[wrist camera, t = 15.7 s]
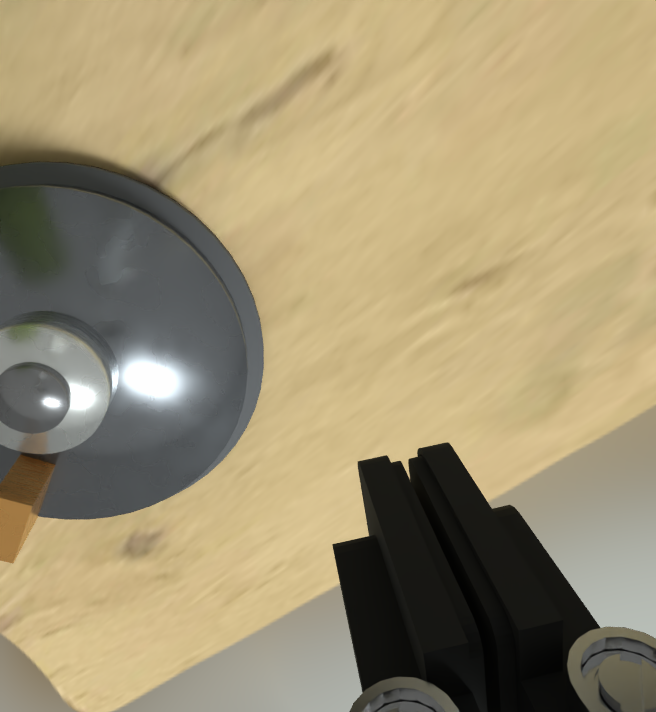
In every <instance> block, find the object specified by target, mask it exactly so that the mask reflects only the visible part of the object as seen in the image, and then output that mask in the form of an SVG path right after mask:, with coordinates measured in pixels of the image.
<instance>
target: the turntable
mask: <svg viewBox="0 0 656 712" xmlns="http://www.w3.org/2000/svg"><path fill="white" fill-rule="evenodd" d="M33 311H54V312H60V313H64V314H67V315H71V316H73V317H75V318H78V319H80V320H82V321H84V322H85V323H87V324H88V325H90V326H91V327H93V328H94V329H95V330H96V331H97V332H99V333H100V334H101V335H102V337H103V338H104V339H105V340H106V341H107V343H108V344H109V346H110V347H111V349H112V351H113V353H114V355H115V358H116V361H117V365H118V374H119V378H118V385H117V389H116V392H115V394H114V397H113V399H112V401H111V403H110V405H109V407H108V409H107V411H106V413H105V415H104V417H103V420H102V422H101V423H100V425H99V427H98V428H97V430H96V431H95V432H94V433H93V434H92V435H91V436H90V437H89V438H88V439H87V440H85V441H84V442H82V443H81V444H79V445H77V446H75V447H73V448H71V449H68V450H65V451H62V452H57V453H51V454H32V453H25V452H20V451H16V450H13V449H10V448H7V447H5V446H3V445H1V444H0V560H1V561H5V562H10V563H14V561H15V559H16V557H17V555H18V553H19V551H20V549H21V548H22V546H23V544H24V542H25V540H26V538H27V536H28V534H29V532H30V530H31V529H32V527H33V525H34V523H35V521H36V519H37V517H38V516H40V517H48V518H58V519H96V518H105V517H112V516H117V515H122V514H126V513H131V512H134V511H137V510H140V509H143V508H146V507H149V506H152V505H154V504H156V503H158V502H160V501H163V500H165V499H167V498H169V497H171V496H172V495H174V494H176V493H177V492H179V491H180V490H182V489H184V488H185V487H187V486H188V485H189V484H191V483H192V482H193V481H194V480H196V479H197V478H198V477H199V476H201V475H202V474H203V473H204V472H205V471H206V470H207V469H208V467H209V466H210V465H211V464H212V463H213V462H214V461H215V460H216V459H217V457H218V456H219V455H220V453H221V452H222V450H223V449H224V448H225V446H226V445H227V443H228V441H229V439H230V438H231V436H232V434H233V432H234V430H235V428H236V426H237V423H238V420H239V417H240V415H241V412H242V409H243V404H244V399H245V394H246V388H247V371H248V364H247V349H246V339H245V334H244V330H243V326H242V321H241V318H240V315H239V313H238V310H237V308H236V305H235V302H234V300H233V298H232V296H231V294H230V292H229V290H228V288H227V287H226V285H225V283H224V281H223V279H222V278H221V276H220V275H219V274H218V272H217V271H216V270H215V268H214V267H213V265H212V264H211V263H210V261H209V260H208V259H207V258H206V257H205V256H204V255H203V254H202V252H201V251H200V250H199V249H198V248H197V247H196V246H195V245H194V244H193V243H192V242H191V241H190V240H189V239H187V238H186V237H185V236H184V235H183V234H181V233H180V232H179V231H178V230H177V229H175V228H174V227H173V226H171V225H170V224H168V223H167V222H165V221H164V220H162V219H161V218H159V217H158V216H156V215H155V214H153V213H151V212H149V211H147V210H145V209H143V208H141V207H139V206H137V205H135V204H133V203H131V202H129V201H127V200H124V199H121V198H118V197H115V196H113V195H110V194H107V193H104V192H100V191H96V190H91V189H87V188H82V187H77V186H69V185H58V184H28V185H18V186H12V187H6V188H0V326H1V325H2V324H3V323H5V322H6V321H8V320H9V319H11V318H13V317H15V316H18V315H21V314H24V313H28V312H33Z"/></svg>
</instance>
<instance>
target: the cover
mask: <svg viewBox="0 0 656 712" xmlns="http://www.w3.org/2000/svg"><path fill="white" fill-rule="evenodd" d="M118 378H119V374H118V365H117V361H116V358H115V355H114V353H113V351H112V349H111V347H110V346H109V344H108V343H107V341H106V340H105V339H104V338H103V337H102V335H101V334H100V333H99V332H97V331H96V330H95V329H94V328H93V327H91V326H90V325H88V324H87V323H85V322H84V321H82V320H80V319H78V318H75V317H73V316H71V315H67V314H64V313H60V312H54V311H33V312H28V313H24V314H21V315H18V316H15V317H13V318H11V319H9V320H8V321H6V322H5V323H3V324H2V325H1V326H0V444H1V445H3V446H5V447H7V448H10V449H13V450H16V451H20V452H25V453H32V454H51V453H57V452H62V451H65V450H68V449H71V448H73V447H75V446H77V445H79V444H81V443H82V442H84V441H85V440H87V439H88V438H89V437H90V436H91V435H92V434H93V433H94V432H95V431H96V430H97V428H98V427H99V425H100V423H101V422H102V420H103V417H104V415H105V413H106V411H107V409H108V407H109V405H110V403H111V401H112V399H113V397H114V394H115V392H116V389H117V385H118Z"/></svg>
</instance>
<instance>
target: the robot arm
mask: <svg viewBox="0 0 656 712" xmlns="http://www.w3.org/2000/svg"><path fill="white" fill-rule="evenodd" d="M417 454H418V457H415V458H411V459H409V472H410V479H409V477H408V475H407V473H406V471H405V469H404V466H403V464H402V462H401V461H397V462H392V463H391V462H390V460H389V458H388V456H387V455H386V456H381V457H377V458H372V459H367V460H363V461H358V470H359V477H360V483H361V489H362V495H363V501H364V507H365V513H366V519H367V525H368V532H369V536H368V537H364V538H359V539H355V540H350V541H346V542H341V543H337V544H333V550H334V555H335V560H336V565H337V570H338V575H339V580H340V585H341V590H342V595H343V600H344V605H345V609H346V615H347V619H348V624H349V629H350V634H351V639H352V643H353V648H354V653H355V658H356V663H357V667H358V673H359V678H360V682H361V687H362V692H363V693H362V694H361V695H360V697H359V698H358V699H357V700H356V701H355V702H354V703H353V706H352V708H351V710H350V712H656V638H654V637H652V636H650V635H648V634H646V633H644V632H640V631H636V630H633V629H629V628H625V627H603V628H600V626H599V625H598V624H597V622H596V621H595V619H594V618H593V617H592V615H591V614H590V612H589V611H588V610H587V608H586V607H585V605H584V604H583V602H582V601H581V600H580V598H579V597H578V595H577V594H576V592H575V591H574V590H573V588H572V587H571V585H570V584H569V583H568V581H567V580H566V578H565V577H564V575H563V574H562V573H561V571H560V570H559V568H558V567H557V566H556V564H555V563H554V561H553V560H552V558H551V557H550V556H549V554H548V553H547V551H546V550H545V549H544V547H543V546H542V544H541V543H540V541H539V540H538V539H537V537H536V536H535V534H534V533H533V532H532V530H531V529H530V527H529V526H528V525H527V523H526V522H525V520H524V519H523V518H522V516H521V515H520V513H519V512H518V511H517V510H516V509H515V507H513V506H511V505H507V506H503V507H498V508H494V509H492V508H491V507H490V505H489V504H488V502H487V501H486V499H485V498H484V496H483V494H482V493H481V491H480V490H479V488H478V487H477V485H476V483H475V482H474V480H473V479H472V477H471V476H470V474H469V473H468V471H467V469H466V468H465V466H464V465H463V463H462V462H461V460H460V459H459V457H458V455H457V454H456V452H455V451H454V449H453V448H452V446H451V445H450V444H449V443H442V444H438V445H433V446H428V447H423V448H419V449H418V453H417ZM410 481H411V482H410Z"/></svg>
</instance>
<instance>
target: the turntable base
mask: <svg viewBox="0 0 656 712" xmlns="http://www.w3.org/2000/svg"><path fill="white" fill-rule="evenodd" d="M28 184H58V185H69V186H77V187H82V188H87V189H91V190H96V191H100V192H104V193H107V194H110V195H113V196H115V197H118V198H121V199H124V200H127V201H129V202H131V203H133V204H135V205H137V206H139V207H141V208H143V209H145V210H147V211H149V212H151V213H153V214H155V215H156V216H158V217H159V218H161V219H162V220H164V221H165V222H167V223H168V224H170V225H171V226H173V227H174V228H175V229H177V230H178V231H179V232H180V233H181V234H183V235H184V236H185V237H186V238H187V239H189V240H190V241H191V242H192V243H193V244H194V245H195V246H196V247H197V248H198V249H199V250H200V251H201V252H202V254H203V255H204V256H205V257H206V258H207V259H208V260H209V261H210V263H211V264H212V265H213V267H214V268H215V270H216V271H217V272H218V274H219V275H220V276H221V278H222V279H223V281H224V283H225V285H226V287H227V288H228V290H229V292H230V294H231V296H232V298H233V300H234V302H235V305H236V308H237V310H238V313H239V315H240V318H241V321H242V326H243V330H244V334H245V339H246V349H247V364H248V371H247V388H246V394H245V399H244V404H243V409H242V412H241V415H240V417H239V420H238V423H237V426H236V428H235V430H234V432H233V434H232V436H231V438H230V439H229V441H228V443H227V445H226V446H225V448H224V449H223V450H222V452H221V453H220V455H219V456H218V457H217V459H216V460H215V461H214V462H213V463H212V464H211V465H210V466H209V467H208V469H207V470H206V471H205V472H204V473H203V474H202V475H201V476H199V477H198V478H197V479H196V480H194V481H193V482H192V483H191V484H189V485H188V486H187V487H185V488H184V489H186V488H188V487H190V486H191V485H193V484H194V483H196V482H197V481H198V480H200V479H201V478H203V477H204V476H205V475H207V474H208V473H209V472H210V471H211V470H212V469H214V468H215V467H216V466H217V465H218V464H219V463H220V462H221V461H222V460H223V459H224V458H225V457H226V456H227V454H228V453H229V452H230V451H231V450H232V448H233V447H234V446H235V445H236V443H237V442H238V440H239V439H240V437H241V435H242V434H243V432H244V431H245V429H246V428H247V425H248V423H249V421H250V419H251V416H252V414H253V412H254V410H255V407H256V403H257V400H258V396H259V393H260V390H261V383H262V376H263V368H264V361H263V338H262V331H261V324H260V318H259V315H258V311H257V308H256V305H255V301H254V298H253V295H252V293H251V291H250V289H249V286H248V284H247V282H246V280H245V277H244V275H243V274H242V272H241V270H240V269H239V267H238V265H237V264H236V262H235V261H234V259H233V257H232V256H231V254H230V253H229V252H228V251H227V249H226V248H225V247H224V246H223V244H222V243H221V242H220V241H219V239H218V238H217V237H216V236H215V235H214V234H213V233H212V232H211V231H210V230H209V229H208V228H207V227H206V226H205V225H204V224H203V223H202V222H201V221H200V220H199V219H198V218H197V217H196V216H194V215H193V214H192V213H191V212H189V211H188V210H187V209H185V208H184V207H183V206H181V205H180V204H179V203H177V202H176V201H175V200H173V199H171V198H169V197H168V196H166V195H164V194H163V193H161V192H159V191H157V190H156V189H154V188H152V187H150V186H148V185H146V184H144V183H141V182H139V181H137V180H134V179H132V178H130V177H127V176H125V175H122V174H118V173H115V172H111V171H108V170H105V169H101V168H98V167H92V166H86V165H80V164H74V163H64V162H32V163H22V164H13V165H6V166H1V167H0V188H6V187H12V186H18V185H28ZM184 489H182V490H184ZM182 490H180V491H182ZM180 491H179V492H180ZM179 492H177V493H179ZM177 493H176V494H177ZM174 495H175V494H174ZM172 496H173V495H172Z"/></svg>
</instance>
